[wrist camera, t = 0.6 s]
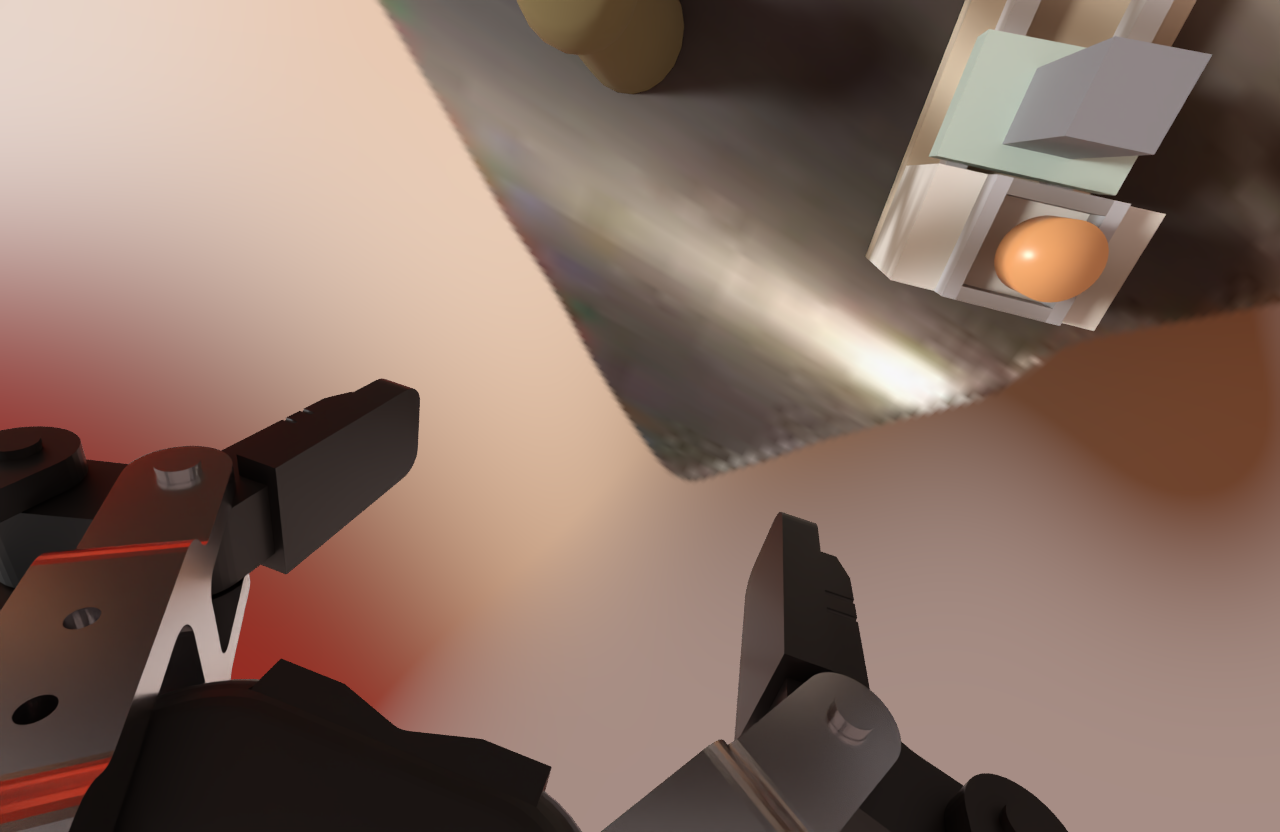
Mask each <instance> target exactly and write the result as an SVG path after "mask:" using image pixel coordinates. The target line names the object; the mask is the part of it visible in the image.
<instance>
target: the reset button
mask: <svg viewBox="0 0 1280 832" xmlns="http://www.w3.org/2000/svg"><path fill="white" fill-rule="evenodd" d="M1108 255H1109V247H1108V242H1107V239H1106V237H1105V235H1104V234H1103V232H1102V231H1101V230H1100V229H1099V228H1098V227H1097V226H1095V225H1094V224H1092V223H1090V222H1087V221H1084V220H1078V219H1071V218H1065V217H1058V216H1050V215H1045V216H1038V217H1033V218H1030V219H1028V220H1025V221H1023V222H1021V223H1020V224H1018V225H1017V226H1015V227H1014V228H1013V229H1011V230H1010V231H1009V232H1008V233H1007V234H1006V235H1005V236H1004V238H1003V239H1002V241H1001V242H1000V244H999V246H998V248H997V250H996V254H995V259H994V267H995V271H996V274H997V276H998V278H999V279H1000V281H1001V282H1002V283H1003V284H1004V285H1005V286H1007V287H1008V288H1010V289H1012V290H1015V291H1017V292H1019V293H1021V294H1023V295H1025V296H1027V297H1029V298H1031V299H1033V300H1036V301H1040V302H1059V301H1064V300H1068V299H1070V298H1073V297H1075V296H1077V295H1079V294H1081V293H1082V292H1084V291H1085V290H1087V289H1088V288H1089V287H1090V286H1091V285H1092V284H1093V283H1095V281H1096V280H1097V279H1098V278H1099V277H1100V275H1101V274H1102V272H1103V270H1104V268H1105V266H1106V263H1107V260H1108Z"/></svg>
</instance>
